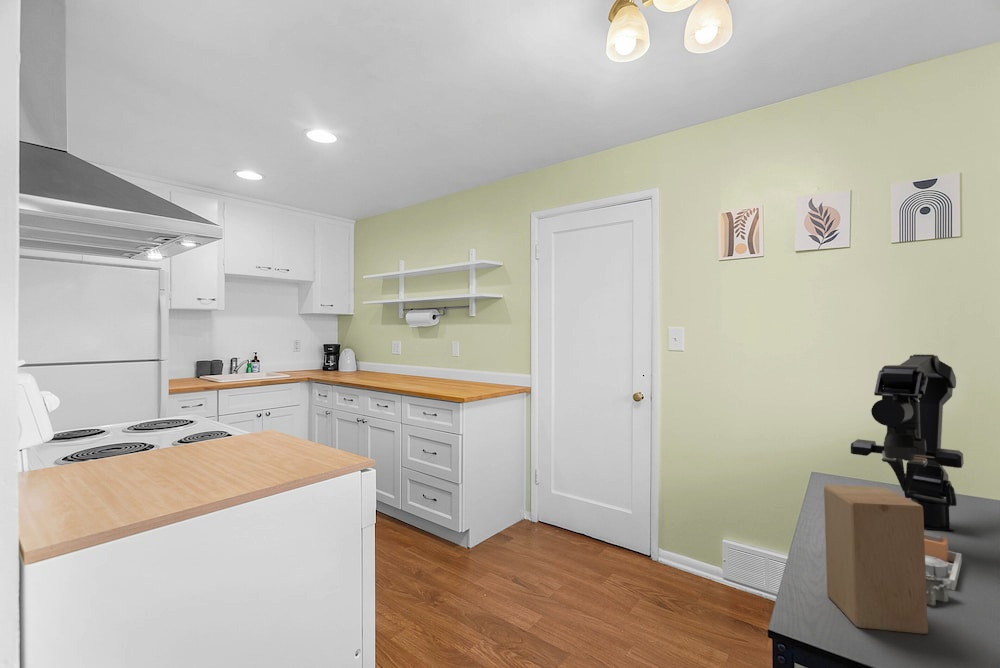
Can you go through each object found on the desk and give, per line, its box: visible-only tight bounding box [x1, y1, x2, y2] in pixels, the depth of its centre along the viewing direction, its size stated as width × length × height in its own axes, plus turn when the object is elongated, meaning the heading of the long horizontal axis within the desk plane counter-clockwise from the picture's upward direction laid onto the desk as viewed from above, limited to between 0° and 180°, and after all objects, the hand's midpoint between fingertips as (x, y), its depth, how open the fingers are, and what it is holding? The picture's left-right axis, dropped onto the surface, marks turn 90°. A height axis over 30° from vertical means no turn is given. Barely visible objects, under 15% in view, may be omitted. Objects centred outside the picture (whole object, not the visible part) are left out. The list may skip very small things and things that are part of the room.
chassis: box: [942, 550, 963, 591], centre depth 93 cm, size 16×8×2 cm, turn 132°
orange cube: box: [924, 530, 950, 563], centre depth 96 cm, size 5×4×6 cm
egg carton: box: [926, 572, 951, 606], centre depth 86 cm, size 11×8×4 cm
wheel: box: [925, 555, 948, 578], centre depth 90 cm, size 5×5×2 cm
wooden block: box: [823, 484, 929, 635], centre depth 78 cm, size 10×10×20 cm
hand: (905, 491), depth 105 cm, fingers closed
